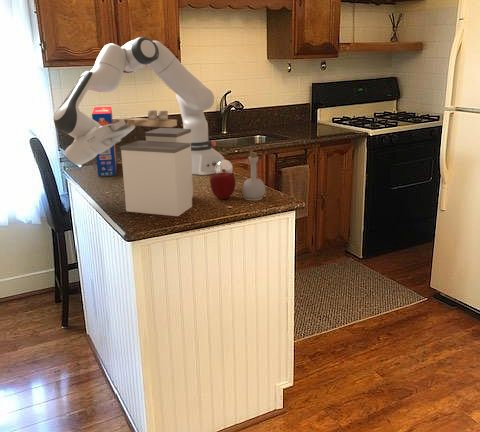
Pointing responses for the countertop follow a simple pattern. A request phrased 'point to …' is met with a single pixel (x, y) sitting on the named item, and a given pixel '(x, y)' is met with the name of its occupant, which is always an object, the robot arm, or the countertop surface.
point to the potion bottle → (253, 182)
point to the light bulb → (224, 166)
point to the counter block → (159, 172)
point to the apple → (222, 184)
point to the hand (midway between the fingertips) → (129, 120)
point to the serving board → (150, 120)
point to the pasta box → (108, 157)
